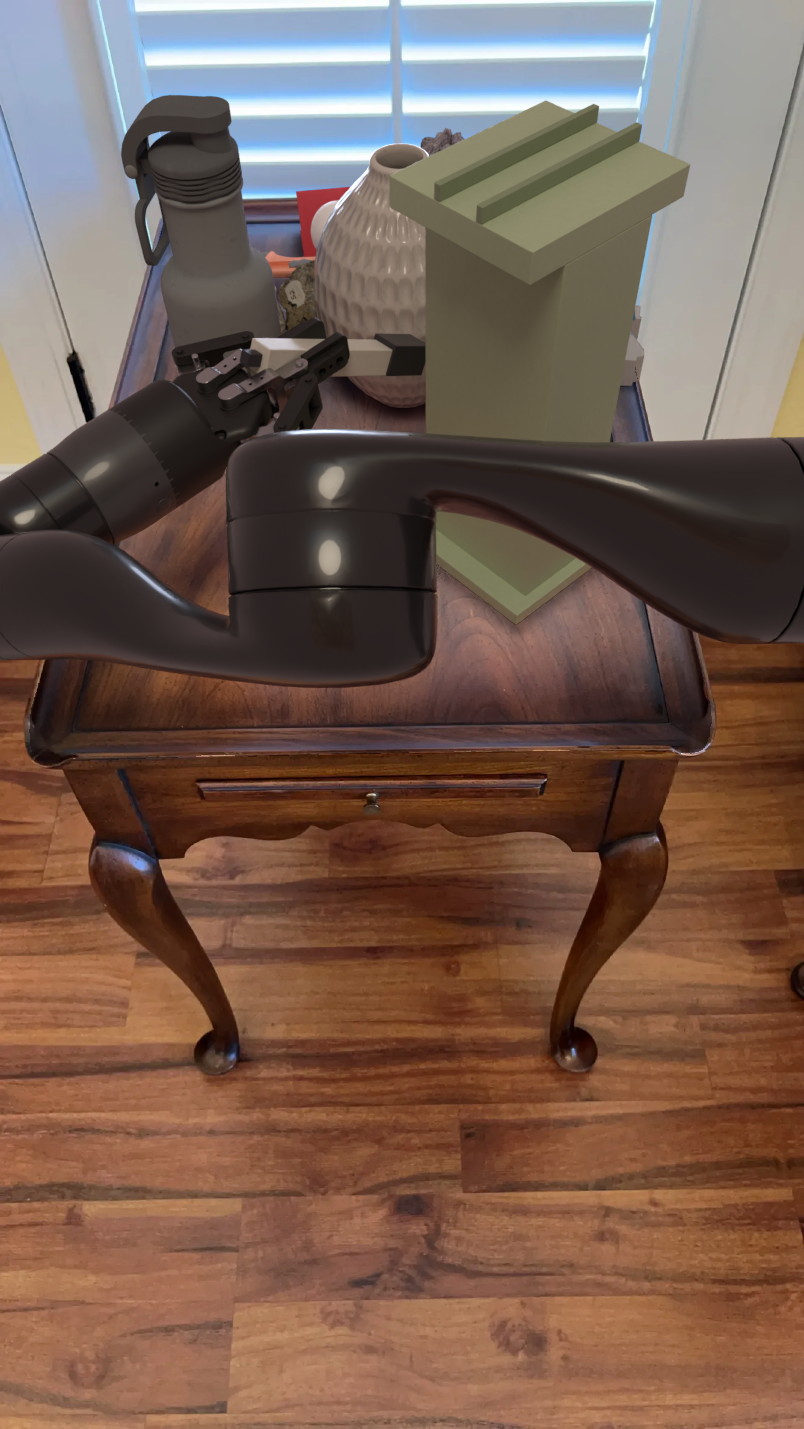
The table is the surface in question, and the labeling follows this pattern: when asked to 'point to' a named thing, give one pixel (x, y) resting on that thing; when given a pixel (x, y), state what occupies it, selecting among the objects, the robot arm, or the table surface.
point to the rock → (298, 295)
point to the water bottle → (199, 221)
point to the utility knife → (284, 263)
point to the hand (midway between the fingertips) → (332, 337)
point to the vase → (375, 271)
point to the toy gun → (633, 353)
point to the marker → (365, 357)
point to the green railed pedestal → (530, 306)
